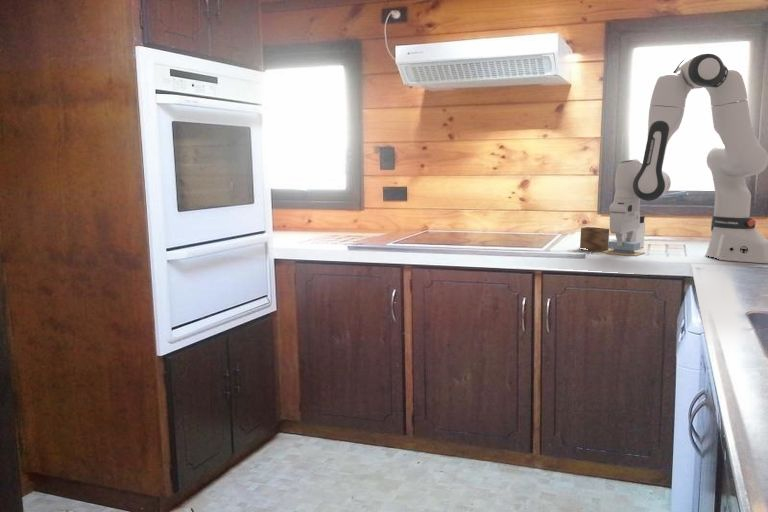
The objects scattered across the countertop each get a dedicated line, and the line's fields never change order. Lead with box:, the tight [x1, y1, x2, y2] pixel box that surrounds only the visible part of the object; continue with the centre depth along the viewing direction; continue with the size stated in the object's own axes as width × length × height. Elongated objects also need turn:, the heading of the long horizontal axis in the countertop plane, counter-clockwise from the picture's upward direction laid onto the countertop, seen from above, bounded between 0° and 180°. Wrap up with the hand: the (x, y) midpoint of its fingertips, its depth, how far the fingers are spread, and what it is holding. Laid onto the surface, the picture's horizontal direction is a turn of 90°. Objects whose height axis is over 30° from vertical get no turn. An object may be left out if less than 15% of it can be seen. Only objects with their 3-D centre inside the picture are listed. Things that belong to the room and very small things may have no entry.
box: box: [579, 226, 610, 253], centre depth 258 cm, size 9×5×8 cm, turn 51°
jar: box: [623, 214, 646, 249], centre depth 268 cm, size 9×8×12 cm
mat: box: [601, 248, 646, 257], centre depth 252 cm, size 12×9×1 cm
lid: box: [608, 239, 641, 253], centre depth 252 cm, size 9×6×4 cm, turn 51°
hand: (624, 244), depth 252 cm, fingers open, 7 cm apart
